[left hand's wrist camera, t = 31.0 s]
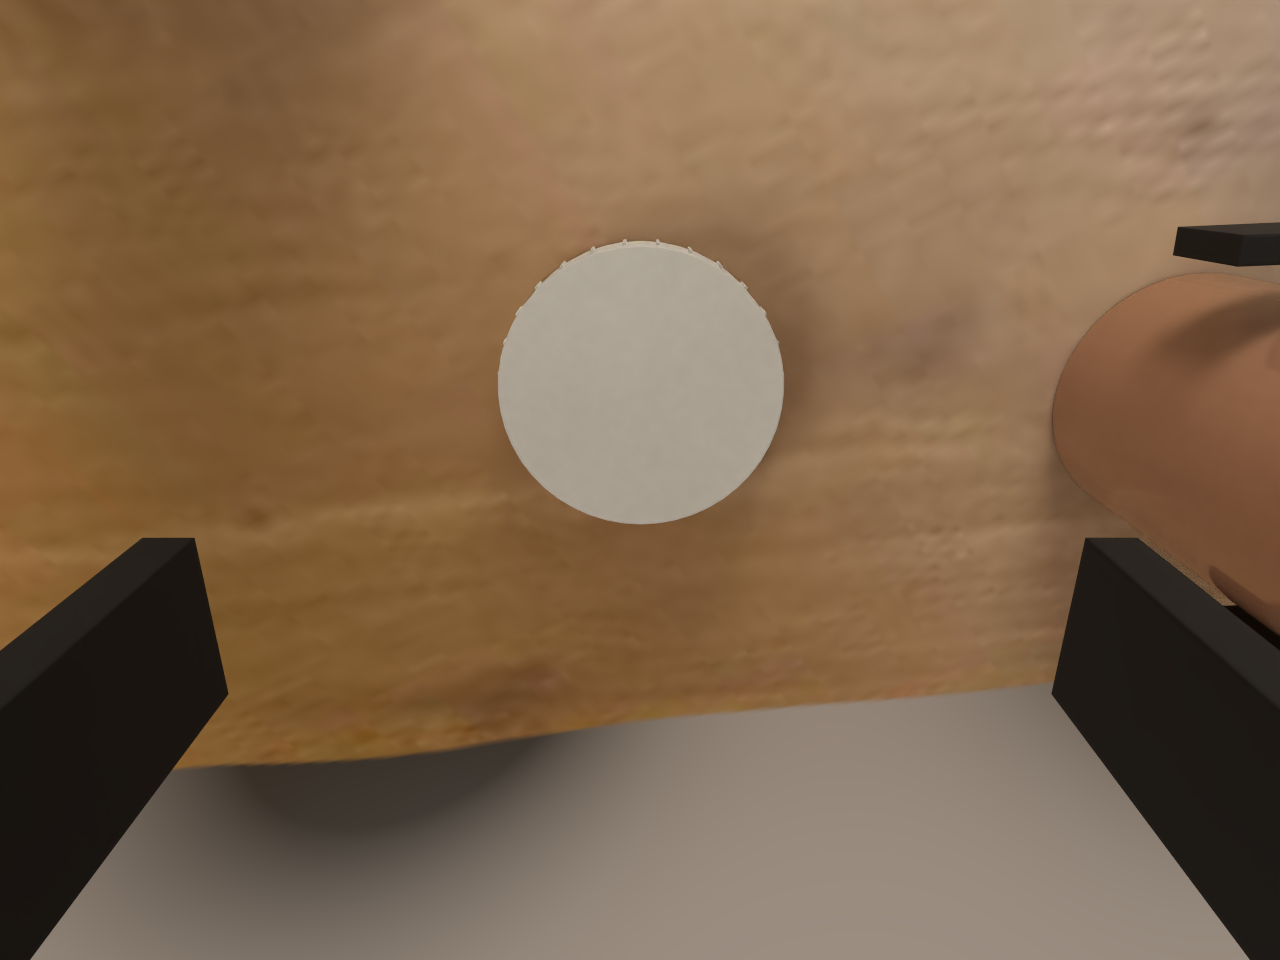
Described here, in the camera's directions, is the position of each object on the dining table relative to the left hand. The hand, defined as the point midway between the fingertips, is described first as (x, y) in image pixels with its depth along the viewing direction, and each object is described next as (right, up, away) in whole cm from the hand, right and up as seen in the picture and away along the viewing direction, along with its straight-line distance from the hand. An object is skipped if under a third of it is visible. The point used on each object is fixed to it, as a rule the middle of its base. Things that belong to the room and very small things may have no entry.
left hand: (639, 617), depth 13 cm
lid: (0, +5, +15) cm, 16 cm away
